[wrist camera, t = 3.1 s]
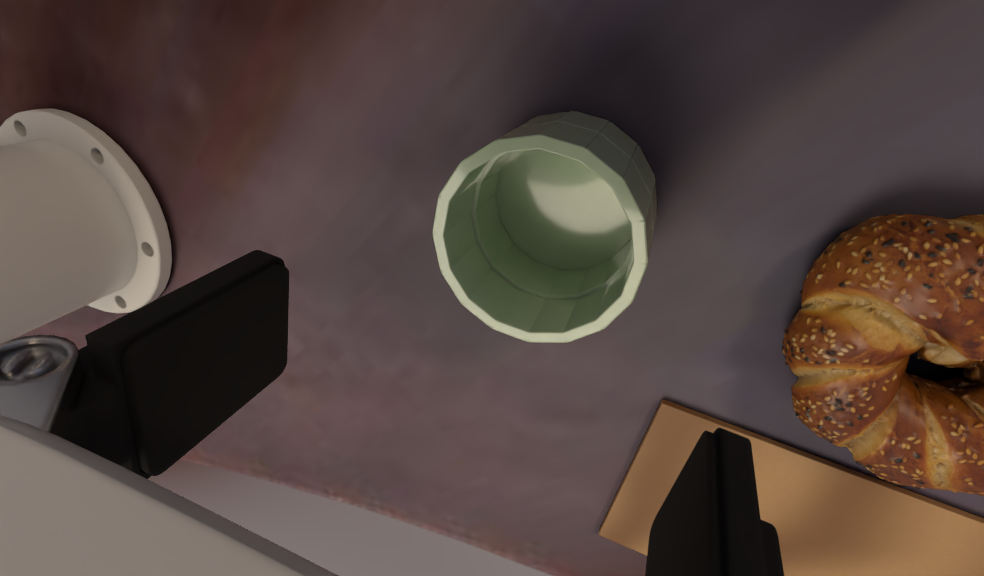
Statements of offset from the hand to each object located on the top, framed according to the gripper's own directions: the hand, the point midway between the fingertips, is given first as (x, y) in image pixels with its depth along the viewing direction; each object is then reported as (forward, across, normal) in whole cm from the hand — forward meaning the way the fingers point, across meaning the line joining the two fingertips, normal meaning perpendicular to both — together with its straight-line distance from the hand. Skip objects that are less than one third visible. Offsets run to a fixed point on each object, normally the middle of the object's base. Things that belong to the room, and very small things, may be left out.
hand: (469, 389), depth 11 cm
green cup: (+14, +1, 0) cm, 14 cm away
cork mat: (+14, -14, +13) cm, 24 cm away
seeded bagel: (+14, -14, +1) cm, 20 cm away
